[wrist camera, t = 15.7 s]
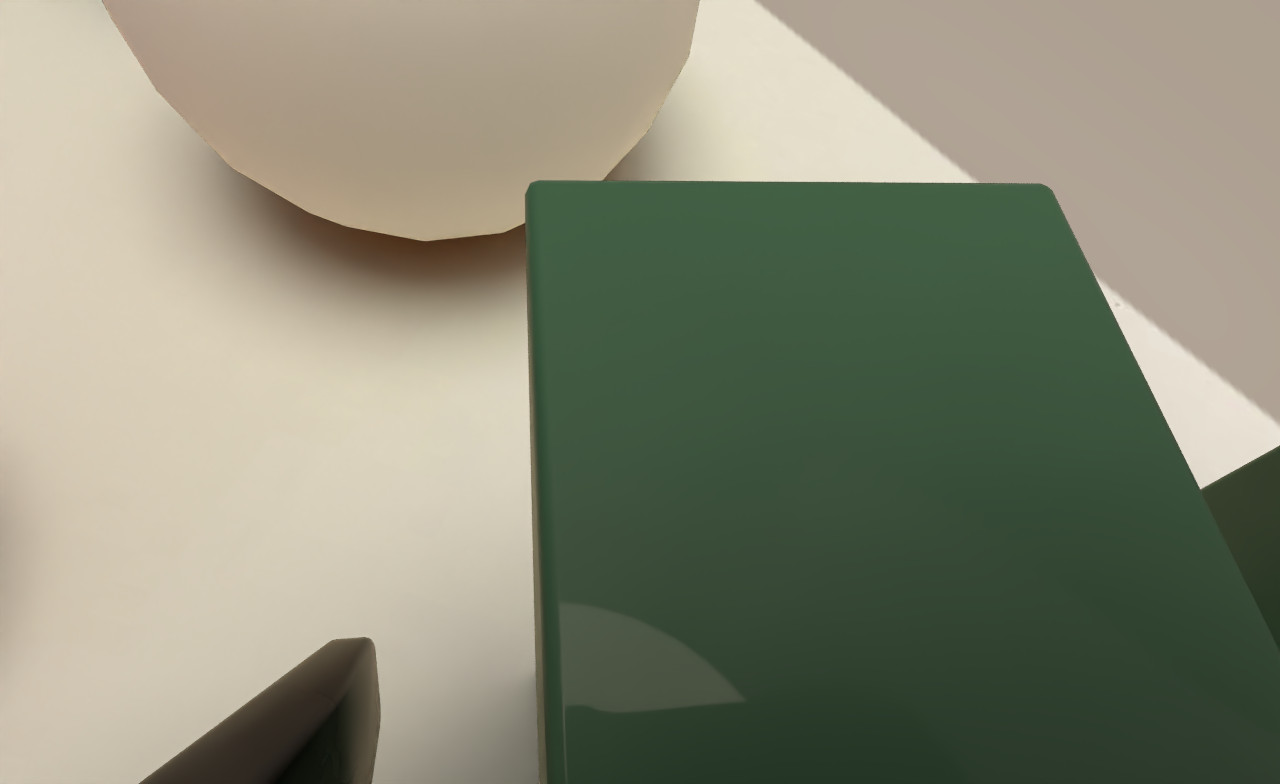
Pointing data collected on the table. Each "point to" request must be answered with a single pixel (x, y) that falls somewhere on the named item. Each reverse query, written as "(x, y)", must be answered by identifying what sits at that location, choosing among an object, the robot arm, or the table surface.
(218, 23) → the cup
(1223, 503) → the green books
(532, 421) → the green book
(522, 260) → the table surface
